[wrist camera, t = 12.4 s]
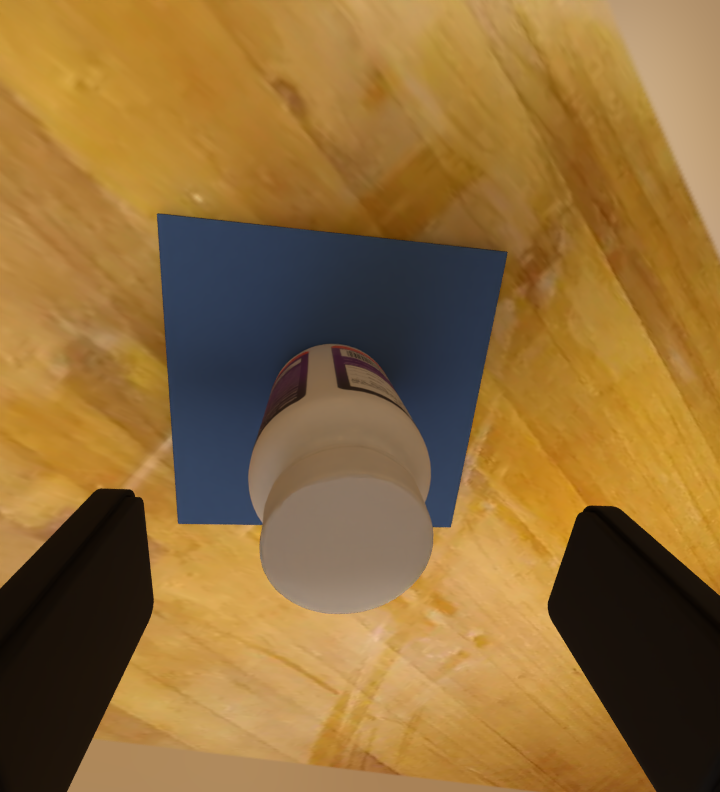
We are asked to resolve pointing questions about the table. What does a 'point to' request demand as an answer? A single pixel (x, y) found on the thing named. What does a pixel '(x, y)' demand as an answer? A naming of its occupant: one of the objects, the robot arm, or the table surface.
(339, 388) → the pill bottle
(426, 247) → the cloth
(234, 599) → the table surface
